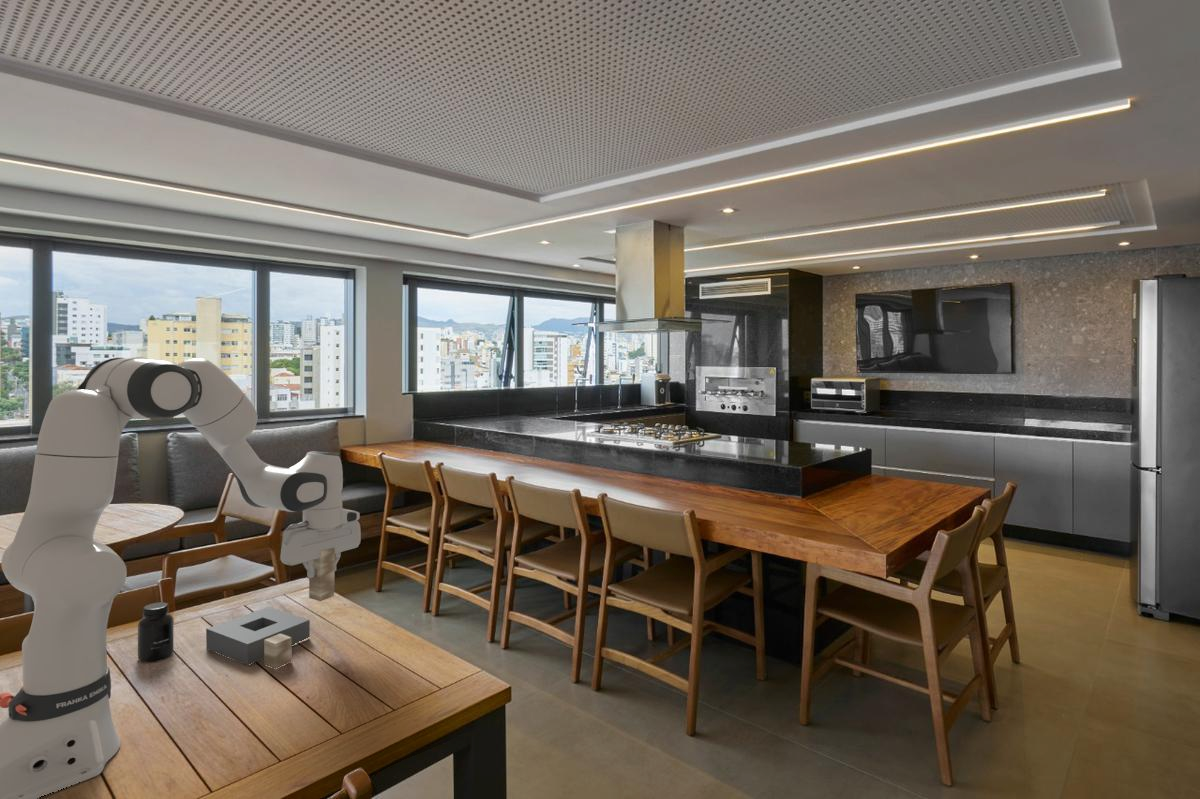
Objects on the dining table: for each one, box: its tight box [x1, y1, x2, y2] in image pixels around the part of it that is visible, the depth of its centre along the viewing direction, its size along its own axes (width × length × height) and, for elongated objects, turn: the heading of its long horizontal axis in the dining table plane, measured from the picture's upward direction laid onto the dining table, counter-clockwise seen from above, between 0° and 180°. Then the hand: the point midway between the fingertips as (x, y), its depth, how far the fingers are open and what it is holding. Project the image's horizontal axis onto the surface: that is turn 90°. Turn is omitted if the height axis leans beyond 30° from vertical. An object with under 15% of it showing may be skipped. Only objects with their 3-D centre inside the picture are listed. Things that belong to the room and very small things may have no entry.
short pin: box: [263, 634, 293, 669], centre depth 146 cm, size 4×4×6 cm
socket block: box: [205, 606, 311, 666], centre depth 156 cm, size 16×16×5 cm
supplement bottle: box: [137, 601, 175, 663], centre depth 148 cm, size 7×7×12 cm
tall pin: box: [308, 548, 336, 602], centre depth 155 cm, size 4×4×12 cm
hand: (322, 574), depth 155 cm, fingers closed on tall pin, 4 cm apart
